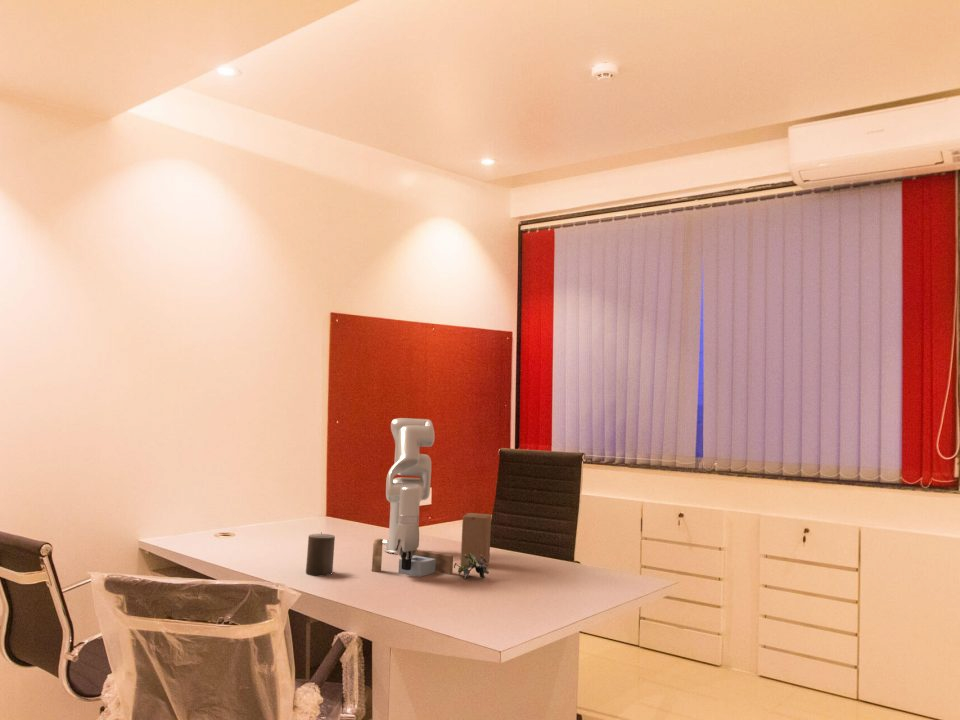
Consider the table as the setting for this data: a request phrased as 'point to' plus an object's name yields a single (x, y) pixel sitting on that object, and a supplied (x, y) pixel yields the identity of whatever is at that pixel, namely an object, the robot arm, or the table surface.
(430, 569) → the socket block
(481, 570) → the passion flower
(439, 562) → the walnut wall
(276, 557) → the table surface
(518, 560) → the table surface
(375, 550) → the oak dowel
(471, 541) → the wooden block
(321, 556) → the pillar candle
